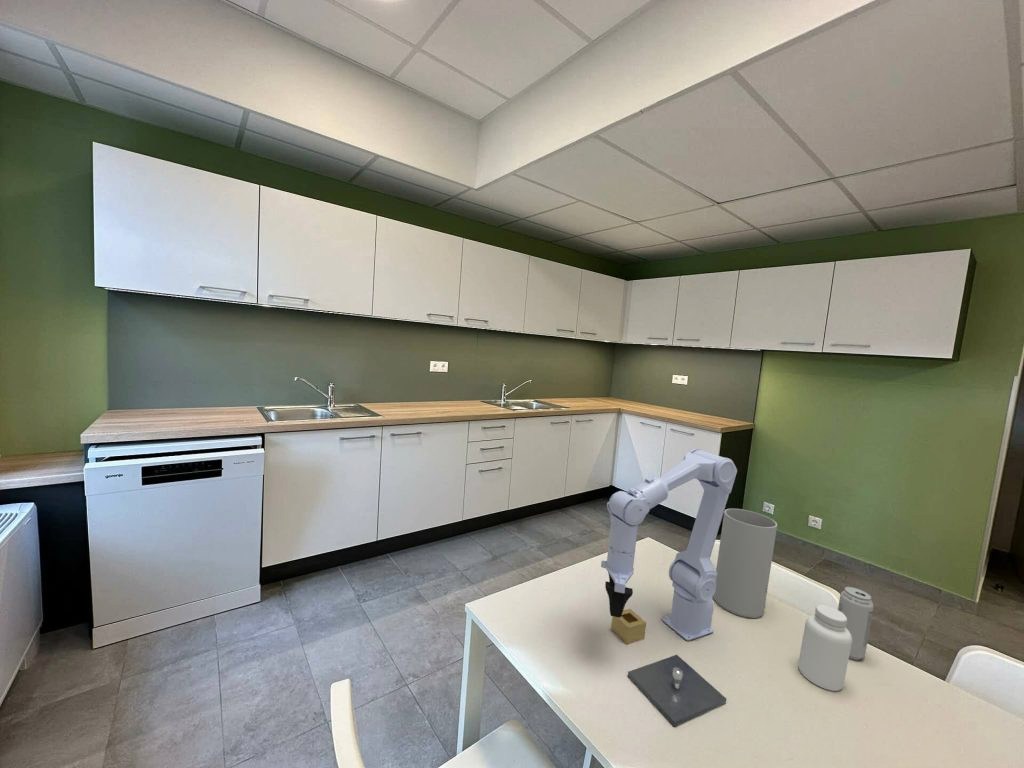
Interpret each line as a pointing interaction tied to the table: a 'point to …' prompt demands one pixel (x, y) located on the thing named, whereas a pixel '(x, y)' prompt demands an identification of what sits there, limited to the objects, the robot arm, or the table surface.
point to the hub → (629, 626)
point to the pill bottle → (825, 648)
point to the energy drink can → (857, 618)
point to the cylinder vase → (744, 562)
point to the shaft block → (676, 689)
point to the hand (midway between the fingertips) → (615, 605)
